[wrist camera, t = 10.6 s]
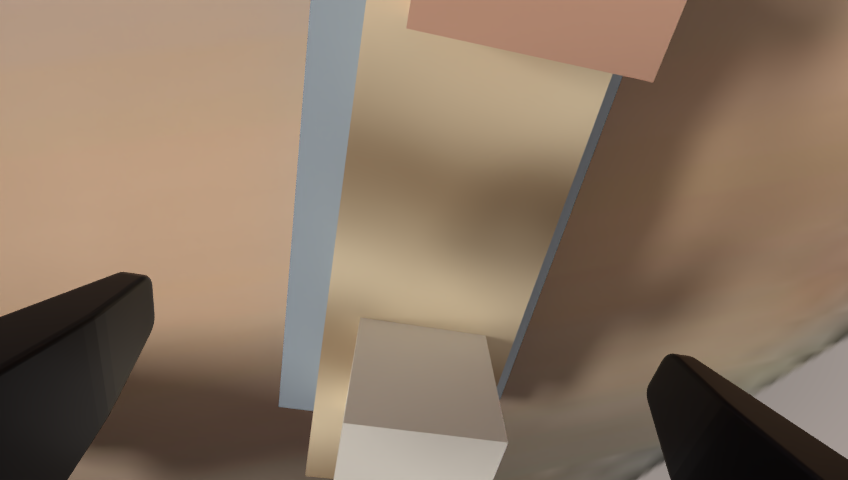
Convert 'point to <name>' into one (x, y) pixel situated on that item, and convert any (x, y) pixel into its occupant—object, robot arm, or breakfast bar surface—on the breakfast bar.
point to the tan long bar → (445, 194)
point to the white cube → (420, 406)
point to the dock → (322, 185)
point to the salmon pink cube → (561, 29)
